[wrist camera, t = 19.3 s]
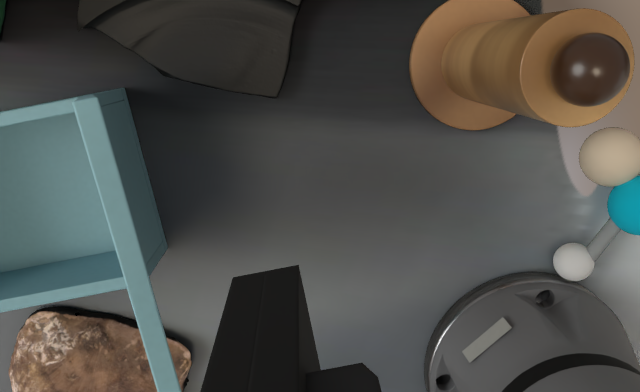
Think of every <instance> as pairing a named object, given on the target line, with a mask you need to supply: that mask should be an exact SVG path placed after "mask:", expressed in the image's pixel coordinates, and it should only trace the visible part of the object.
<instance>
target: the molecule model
mask: <svg viewBox="0 0 640 392" xmlns="http://www.w3.org/2000/svg"><path fill="white" fill-rule="evenodd" d="M579 163H580V167H581V169H582V171H583V172H584V174H585V175H586V176H587V177H588V178H589V179H590V180H591V181H593V182H594V183H596V184H599V185H602V186H608V187H614V186H615V187H614V188H613V190H612V191H611V193H610V195H609V198H608V202H607V208H608V213H609V216H610V218H609V220H608V221H607V222H606V224H605V225H604V226H603V227H602V229H601V230H600V231H599V233H598V234H597V235H596V236H595V238H594V239H593V240H592V242H591V243H590V244H589V245H588V247H585V246H584V245H581V244H578V243H568V244H564V245H562V246H561V247H560V248H558V250H557V251H556V252H555V254H554V257H553V265H554V268H555V270H556V272H557V273H558V274H559V275H560V276H561V277H563V278H564V279H567V280H570V281H580V280H583V279H585V278H587V277H588V276H589V275H590V274H591V273H592V271H593V269H594V264H595V261H596V260H597V259H598V257H599V256H600V255H601V254H602V252H603V251H604V250H605V249H606V247H607V246H608V245H609V244H610V242H611V241H612V240H613V239H614V237H615V236H616V235H617V234H618V232H619V231H620V230H621V229H622V230H623V231H625V232H627V233H630V234H633V235H640V176H637V175H638V174H639V173H640V140H639V138H638V137H637V136H635V135H634V134H633V133H631V132H630V131H628V130H625V129H622V128H615V127H611V128H604V129H601V130H599V131H596V132H594V133H593V134H592V135H590V136H589V137H588V138H587V139H586V140H585V142H584V143H583V145H582V147H581V149H580V153H579Z"/></svg>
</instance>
